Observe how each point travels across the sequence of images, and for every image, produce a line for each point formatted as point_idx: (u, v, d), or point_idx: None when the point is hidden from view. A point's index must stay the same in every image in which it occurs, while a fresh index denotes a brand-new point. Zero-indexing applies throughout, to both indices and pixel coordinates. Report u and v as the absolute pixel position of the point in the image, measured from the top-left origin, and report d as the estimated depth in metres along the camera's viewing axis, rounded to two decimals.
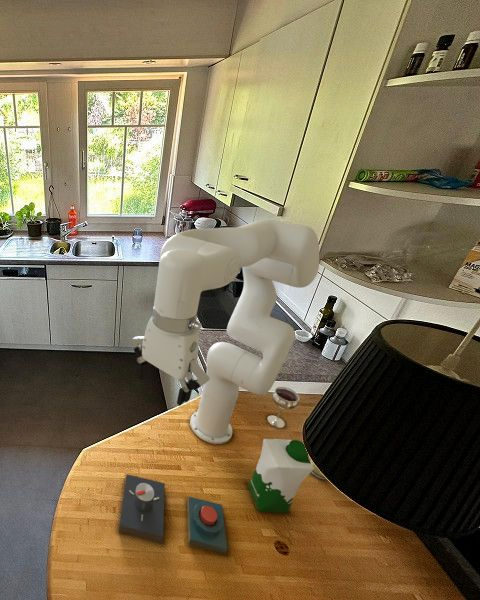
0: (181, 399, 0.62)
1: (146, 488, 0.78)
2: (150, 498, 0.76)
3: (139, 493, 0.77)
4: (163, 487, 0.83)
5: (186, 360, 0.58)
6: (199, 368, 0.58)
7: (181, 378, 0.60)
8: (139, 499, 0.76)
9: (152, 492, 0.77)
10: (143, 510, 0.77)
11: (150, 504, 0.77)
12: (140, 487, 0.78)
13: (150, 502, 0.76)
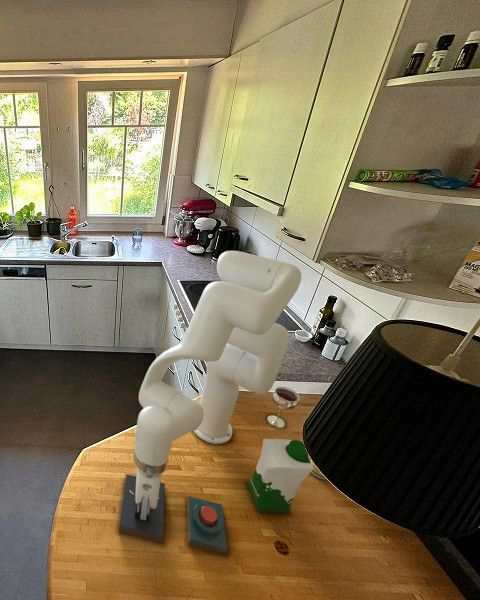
0: (136, 515, 0.75)
1: None
2: None
3: None
4: (163, 487, 0.83)
5: (138, 492, 0.70)
6: (145, 507, 0.69)
7: (136, 502, 0.72)
8: None
9: None
10: None
11: None
12: None
13: None
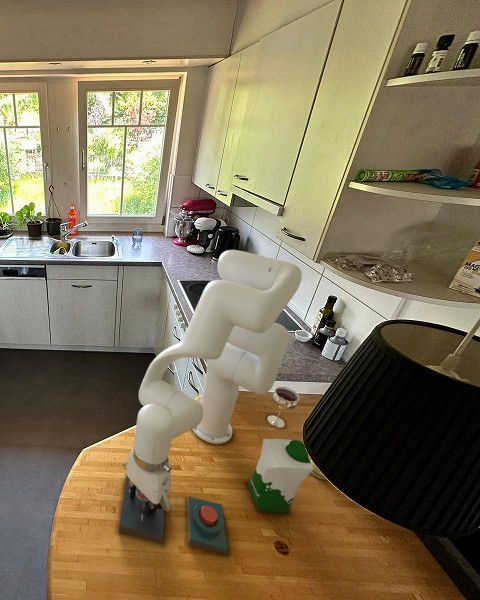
0: (148, 512, 0.76)
1: None
2: None
3: (142, 496, 0.76)
4: None
5: (159, 492, 0.70)
6: (167, 499, 0.71)
7: (156, 503, 0.72)
8: (145, 502, 0.76)
9: None
10: None
11: None
12: (139, 490, 0.78)
13: None
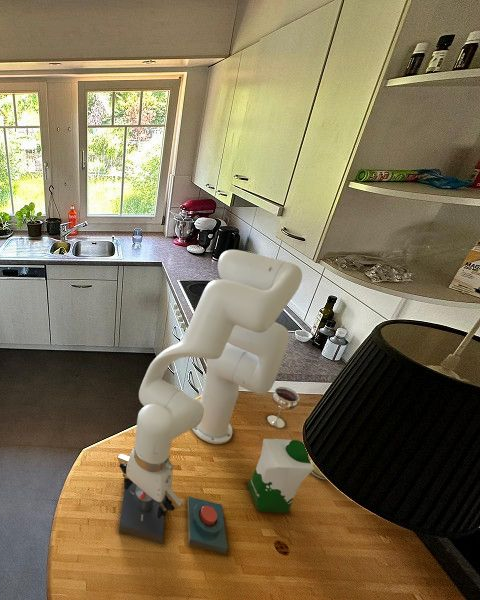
0: (160, 514, 0.75)
1: None
2: None
3: (142, 496, 0.76)
4: None
5: (163, 490, 0.70)
6: (173, 494, 0.71)
7: (159, 501, 0.72)
8: (146, 502, 0.76)
9: None
10: (149, 509, 0.78)
11: None
12: (139, 491, 0.78)
13: None
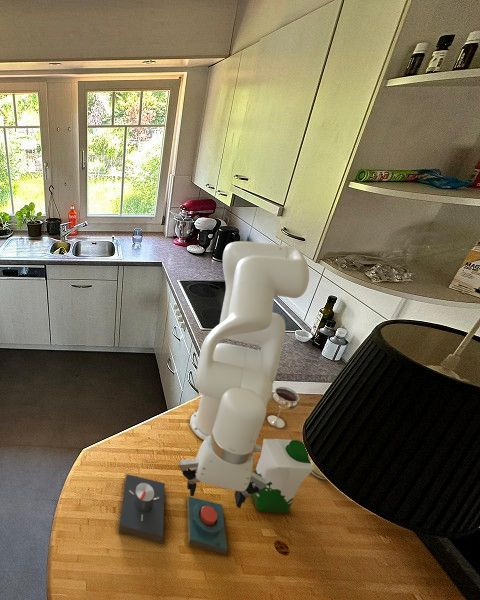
0: None
1: (143, 487, 0.78)
2: (152, 494, 0.77)
3: (142, 496, 0.76)
4: (163, 487, 0.83)
5: (250, 476, 0.64)
6: (256, 475, 0.66)
7: (244, 490, 0.66)
8: (146, 502, 0.76)
9: (150, 487, 0.78)
10: (149, 509, 0.78)
11: None
12: (139, 491, 0.78)
13: (153, 497, 0.77)
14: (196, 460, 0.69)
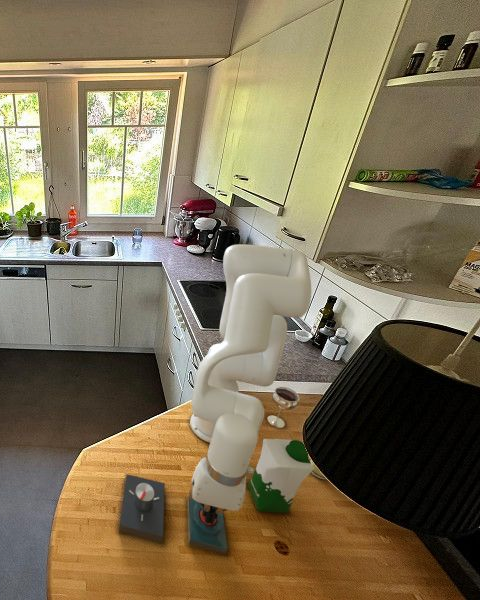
0: (213, 519, 0.73)
1: (143, 487, 0.78)
2: (152, 494, 0.77)
3: (142, 496, 0.76)
4: (163, 487, 0.83)
5: None
6: None
7: (238, 509, 0.69)
8: (146, 502, 0.76)
9: (150, 487, 0.78)
10: (149, 509, 0.78)
11: None
12: (139, 491, 0.78)
13: (153, 497, 0.77)
14: None
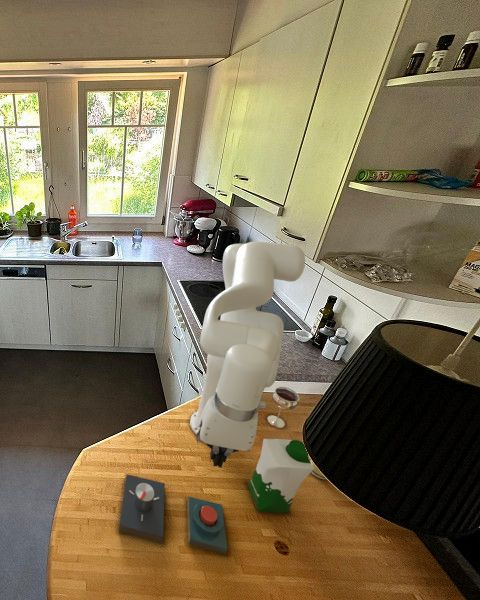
0: None
1: (143, 487, 0.78)
2: (152, 494, 0.77)
3: (142, 496, 0.76)
4: (163, 487, 0.83)
5: (255, 435, 0.63)
6: None
7: (249, 449, 0.65)
8: (146, 502, 0.76)
9: (150, 487, 0.78)
10: (149, 509, 0.78)
11: None
12: (139, 491, 0.78)
13: (153, 497, 0.77)
14: None
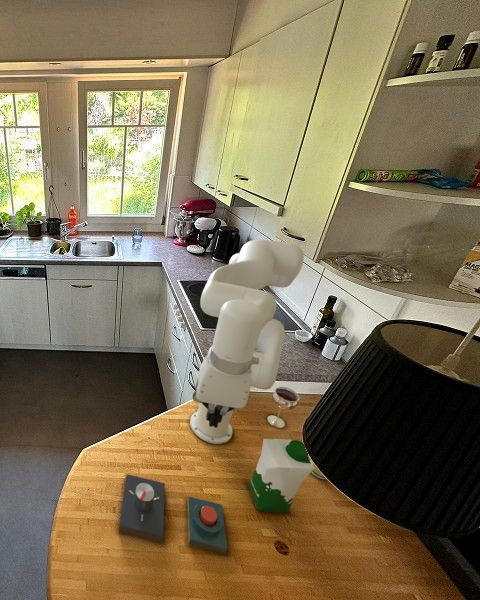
0: None
1: (143, 487, 0.78)
2: (152, 494, 0.77)
3: (142, 496, 0.76)
4: (163, 487, 0.83)
5: (249, 391, 0.66)
6: None
7: (243, 406, 0.68)
8: (146, 502, 0.76)
9: (150, 487, 0.78)
10: (149, 509, 0.78)
11: None
12: (139, 491, 0.78)
13: (153, 497, 0.77)
14: None
